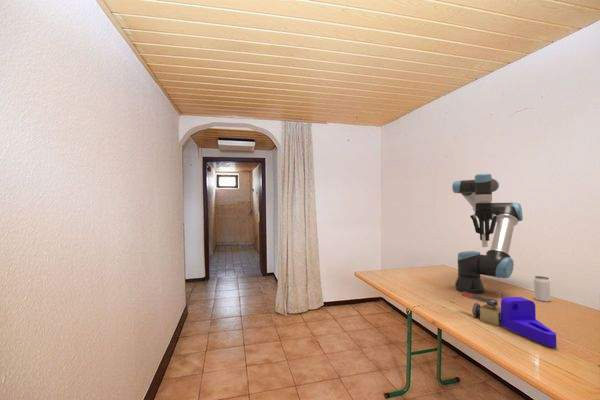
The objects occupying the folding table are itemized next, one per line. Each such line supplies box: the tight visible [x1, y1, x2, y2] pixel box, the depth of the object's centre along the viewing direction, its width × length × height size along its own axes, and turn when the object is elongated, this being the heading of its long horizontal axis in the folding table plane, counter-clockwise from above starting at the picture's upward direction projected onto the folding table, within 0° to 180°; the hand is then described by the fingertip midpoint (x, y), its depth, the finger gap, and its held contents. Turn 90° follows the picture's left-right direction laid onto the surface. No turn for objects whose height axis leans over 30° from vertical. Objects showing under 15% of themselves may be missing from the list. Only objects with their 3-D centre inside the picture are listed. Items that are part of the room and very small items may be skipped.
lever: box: [461, 291, 499, 307], centre depth 125 cm, size 15×4×2 cm, turn 26°
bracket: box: [500, 296, 557, 348], centre depth 106 cm, size 18×11×12 cm, turn 1°
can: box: [533, 275, 551, 303], centre depth 146 cm, size 6×6×12 cm
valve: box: [471, 302, 502, 327], centre depth 120 cm, size 14×7×7 cm, turn 34°
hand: (484, 246), depth 144 cm, fingers closed
